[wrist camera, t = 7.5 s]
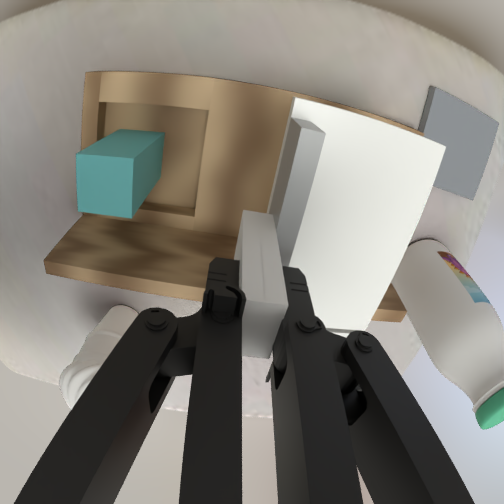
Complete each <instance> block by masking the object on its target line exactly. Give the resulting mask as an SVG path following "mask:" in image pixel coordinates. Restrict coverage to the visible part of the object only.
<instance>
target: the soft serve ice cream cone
mask: <svg viewBox="0 0 504 504" xmlns="http://www.w3.org/2000/svg"><path fill="white" fill-rule="evenodd" d="M138 315H139V314H138V313H137V312H136V311H135V310H134V309H132V308H130V307H128V306H124V305H117V306H114V307H112V308H111V309H110V310H109V311H108V313H107V314H106V315H105V316H104V318H103V319H102V320H101V321H100V323H99V324H98V325H97V326H96V328H95V329H94V330H93V331H92V332H91V333H89V334H88V336H87V337H86V340H85V343H84V345H83V346H82V348H81V350H80V352H79V354H78V355H76V356H75V358H74V360H73V362H72V363H71V364H70V365H69V366H67V367H66V368H65V369H64V370H63V372H62V374H61V376H60V380H59V385H60V390H61V393H62V395H63V397H64V399H65V401H66V403H67V405H68V407H69V408H70V410H72V408H73V407H74V405H75V404H76V402H77V401H78V399H79V398H80V396H81V395H82V393H83V392H84V390H85V389H86V387H87V386H88V384H89V383H90V381H91V380H92V378H93V377H94V376H95V374H96V373H97V371H98V370H99V368H100V367H101V366H102V364H103V363H104V361H105V360H106V358H107V357H108V356H109V354H110V353H111V351H112V350H113V349H114V347H115V346H116V344H117V343H118V342H119V340H120V339H121V337H122V336H123V335H124V333H125V332H126V331H127V329H128V328H129V326H130V325H131V324H132V322H133V321H134V320H135V318H136V317H137V316H138Z"/></svg>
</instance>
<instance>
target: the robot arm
mask: <svg viewBox="0 0 504 504" xmlns="http://www.w3.org/2000/svg"><path fill="white" fill-rule="evenodd" d="M272 350H273V362H272V364H271V367H270V369H269V372H268V375H267V377H266V382H269V380H270V377H271V391H272V407H273V422H274V439H275V456H276V472H277V490H278V504H363V500H362V494H361V488H360V482H359V477H358V471H357V467H358V470H359V472H360V474H361V476H362V478H363V481H364V483H365V485H366V487H367V489H368V491H369V494H370V496H371V498H372V500H373V502H374V504H475V503H474V501H473V499H472V498H471V496H470V494H469V492H468V490H467V488H466V486H465V484H464V482H463V481H462V479H461V477H460V475H459V473H458V471H457V469H456V468H455V466H454V464H453V462H452V461H451V459H450V457H449V455H448V453H447V452H446V450H445V448H444V446H443V445H442V443H441V441H440V440H439V438H438V436H437V434H436V432H435V431H434V429H433V427H432V426H431V424H430V422H429V421H428V419H427V417H426V416H425V414H424V412H423V411H422V409H421V407H420V406H419V404H418V402H417V401H416V399H415V397H414V396H413V394H412V393H411V391H410V390H409V388H408V386H407V385H406V383H405V381H404V380H403V378H402V377H401V375H400V373H399V372H398V370H397V369H396V367H395V366H394V364H393V363H392V361H391V359H390V358H389V356H388V355H387V353H386V352H385V350H384V349H383V347H382V346H381V344H380V343H379V341H378V340H377V339H376V338H375V337H374V336H373V335H371V334H370V333H368V332H365V331H359V330H355V331H353V332H350V334H349V335H348V336H347V338H346V337H343V336H340V335H337V334H334V333H332V332H329V331H327V330H326V328H325V325H324V323H323V322H322V321H321V320H320V319H319V318H318V317H317V316H315V313H314V309H313V305H312V301H311V297H310V293H309V289H308V286H307V281H306V277H305V275H304V274H303V273H302V271H301V270H300V269H299V268H294V267H287V266H282V263H281V257H280V251H279V245H278V239H277V233H276V228H275V223H274V217H273V215H272V214H266V213H260V212H254V211H248V210H243V213H242V218H241V224H240V229H239V234H238V239H237V245H236V250H235V255H234V260H233V259H227V258H220V257H215V258H214V259H213V260H212V261H211V262H210V263H209V269H208V276H207V282H206V288H205V291H204V293H203V301H202V308H201V309H200V310H199V311H198V312H197V313H195V314H193V315H191V316H187V317H179V318H176V317H175V316H174V314H173V313H172V312H170V311H168V310H166V309H162V308H149V309H146V310H144V311H142V312H141V313H140V314H139V315H138V316H137V317H136V318H135V320H134V321H133V322H132V324H131V325H130V326H129V328H128V329H127V331H126V332H125V333H124V335H123V336H122V337H121V339H120V340H119V342H118V343H117V344H116V346H115V347H114V349H113V350H112V351H111V353H110V354H109V356H108V357H107V358H106V360H105V361H104V363H103V364H102V366H101V367H100V368H99V370H98V371H97V373H96V374H95V376H94V377H93V378H92V380H91V381H90V383H89V384H88V386H87V387H86V389H85V390H84V392H83V393H82V395H81V396H80V398H79V399H78V401H77V402H76V404H75V405H74V407H73V408H72V410H71V411H70V413H69V414H68V416H67V417H66V419H65V420H64V422H63V423H62V425H61V426H60V428H59V430H58V432H57V433H56V434H55V436H54V438H53V439H52V441H51V442H50V444H49V445H48V447H47V449H46V450H45V452H44V454H43V455H42V457H41V458H40V460H39V461H38V463H37V465H36V466H35V468H34V470H33V471H32V473H31V475H30V476H29V478H28V480H27V482H26V483H25V485H24V487H23V488H22V490H21V492H20V494H19V495H18V497H17V499H16V501H15V502H14V504H113V503H114V501H115V499H116V497H117V495H118V493H119V491H120V489H121V487H122V485H123V483H124V481H125V479H126V476H127V475H128V472H129V470H130V468H131V466H132V464H133V462H134V460H135V458H136V456H137V454H138V452H139V450H140V448H141V446H142V444H143V442H144V439H145V438H146V436H147V434H148V432H149V430H150V428H151V426H152V424H153V422H154V420H155V417H156V416H157V413H158V412H159V409H160V407H161V405H162V403H163V401H164V399H165V397H166V395H167V393H168V391H169V389H170V387H171V385H172V383H173V381H174V379H175V377H176V376H183V375H191V374H193V375H192V383H191V390H190V399H189V407H188V415H187V425H186V433H185V443H184V452H183V463H182V473H181V484H180V497H179V504H242V356H248V357H258V358H268V359H269V358H270V355H271V353H272ZM356 465H357V466H356Z"/></svg>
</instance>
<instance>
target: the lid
mask: <svg viewBox="0 0 504 504" xmlns="http://www.w3.org/2000/svg"><path fill="white" fill-rule="evenodd" d="M445 149H446V146H444V145H442V144H440V143H438V142H435V141H433V140H431V139H428V138H426V137H423V136H421V135H418V134H416V133H413V132H410V131H408V130H405V129H402V128H400V127H397V126H394V125H391V124H388V123H385V122H383V121H380V120H377V119H374V118H370V117H367V116H364V115H361V114H358V113H354V112H351V111H348V110H344V109H341V108H337V107H334V106H330V105H326V104H322V103H319V102H315V101H311V100H306V99H302V98H298V97H294V96H293V99H292V103H291V108H290V112H289V117H288V121H287V126H286V130H285V134H284V139H283V143H282V148H281V152H280V156H279V161H278V165H277V169H276V174H275V178H274V183H273V187H272V191H271V196H270V200H269V204H268V209H267V213H266V214H272V215H273V217H274V223H275V228H276V233H277V239H278V245H279V251H280V257H281V263H282V266H287V267H294V268H299V269H300V270H301V271H302V273H303V274H304V275H305V277H306V281H307V286H308V289H309V293H310V297H311V301H312V305H313V309H314V313H315V316H317V317H318V318H319V319H320V320H321V321H322V322H323V323H324V325H325V328H326V330H327V331H329V332H332V333H334V334H337V335H340V336H343V337H346V338H347V336H348V335H349V334H350V332H353V331H355V330H359V331H361V330H363V331H365V330H366V328H367V326H368V324H369V322H370V321H371V319H372V317H373V315H374V313H375V311H376V310H377V308H378V306H379V304H380V302H381V300H382V298H383V296H384V294H385V292H386V291H387V289H388V287H389V285H390V283H391V281H392V279H393V277H394V275H395V272H396V270H397V268H398V266H399V264H400V262H401V260H402V258H403V256H404V253H405V251H406V249H407V247H408V245H409V242H410V240H411V238H412V236H413V233H414V231H415V229H416V226H417V224H418V222H419V219H420V217H421V214H422V212H423V209H424V207H425V204H426V202H427V199H428V197H429V194H430V191H431V189H432V186H433V183H434V181H435V178H436V175H437V172H438V169H439V167H440V164H441V161H442V158H443V155H444V152H445Z"/></svg>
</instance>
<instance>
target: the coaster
mask: <svg viewBox="0 0 504 504" xmlns="http://www.w3.org/2000/svg"><path fill="white" fill-rule="evenodd" d="M498 125H499V123H498V122H497V121H495V120H494V119H492V118H490V117H489V116H487V115H486V114H484V113H482V112H481V111H479V110H477V109H476V108H474V107H472V106H470V105H469V104H467V103H465V102H463V101H461V100H460V99H458V98H456V97H454V96H452V95H450V94H448V93H446V92H444V91H443V90H441V89H439V88H437V87H432V86H430V89H429V93H428V96H427V100H426V104H425V108H424V111H423V115H422V119H421V122H420V126H419V129H418V131H420V132H422V133H425V134H424V137H426V138H428V139H431V140H433V141H435V142H438V143H440V144H442V145H444V146H446V149H445V152H444V155H443V158H442V161H441V164H440V167H439V169H438V172H437V175H436V178H435V181H434V183H433V186H434V187H437V188H440V189H443V190H446V191H448V192H451V193H454V194H457V195H460V196H462V197H465V198H468V199H470V200H473V199H474V196H475V194H476V191H477V189H478V186H479V184H480V181H481V178H482V175H483V173H484V170H485V167H486V164H487V161H488V158H489V155H490V152H491V149H492V146H493V143H494V139H495V136H496V133H497V129H498Z"/></svg>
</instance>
